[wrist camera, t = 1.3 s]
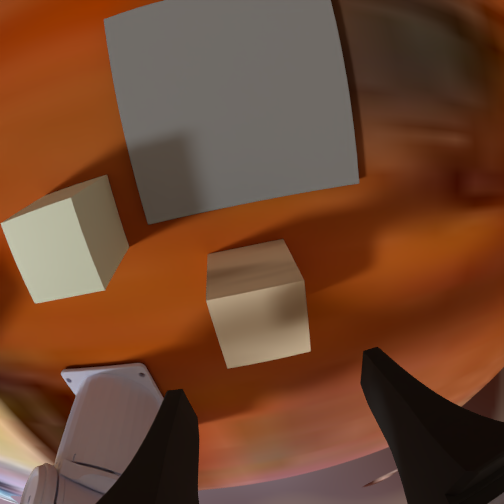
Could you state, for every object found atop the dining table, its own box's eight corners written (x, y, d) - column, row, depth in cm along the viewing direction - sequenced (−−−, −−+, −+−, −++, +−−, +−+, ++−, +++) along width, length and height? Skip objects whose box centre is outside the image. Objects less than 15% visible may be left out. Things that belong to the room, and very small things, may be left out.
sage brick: (129, 246, 18) (104, 290, 13) (69, 261, 18) (35, 303, 13) (107, 174, 16) (70, 197, 11) (45, 195, 16) (0, 223, 11)
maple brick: (291, 300, 21) (310, 351, 16) (224, 314, 20) (227, 368, 16) (282, 238, 19) (304, 280, 14) (207, 253, 19) (206, 300, 14)
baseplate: (354, 181, 18) (359, 183, 17) (150, 221, 17) (148, 224, 17) (322, -14, 12) (326, -18, 12) (107, 22, 12) (103, 19, 12)
